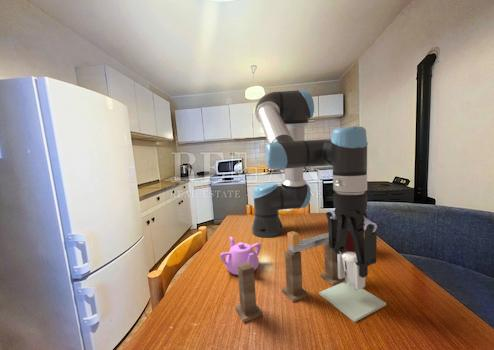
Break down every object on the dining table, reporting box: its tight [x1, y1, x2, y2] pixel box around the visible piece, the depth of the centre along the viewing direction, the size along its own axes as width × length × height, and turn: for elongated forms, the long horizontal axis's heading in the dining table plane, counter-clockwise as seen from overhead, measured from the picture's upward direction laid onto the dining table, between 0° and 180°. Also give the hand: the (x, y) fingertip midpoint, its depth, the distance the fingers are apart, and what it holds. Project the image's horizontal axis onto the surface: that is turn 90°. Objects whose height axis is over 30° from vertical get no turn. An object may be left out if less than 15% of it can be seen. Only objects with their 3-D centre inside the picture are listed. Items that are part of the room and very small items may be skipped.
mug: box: [343, 230, 357, 253], centre depth 79 cm, size 10×8×10 cm
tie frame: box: [234, 242, 345, 323], centre depth 58 cm, size 5×33×12 cm, turn 115°
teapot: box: [219, 235, 262, 276], centre depth 74 cm, size 12×14×9 cm
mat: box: [318, 281, 387, 323], centre depth 55 cm, size 11×11×1 cm
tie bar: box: [286, 230, 329, 253], centre depth 61 cm, size 2×18×5 cm, turn 115°
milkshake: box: [339, 251, 359, 292], centre depth 55 cm, size 4×5×10 cm
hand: (351, 281), depth 55 cm, fingers closed on milkshake, 4 cm apart
